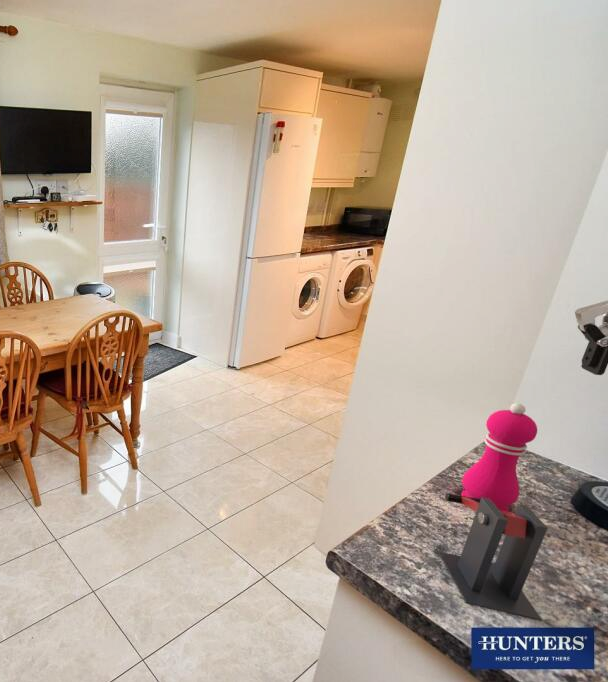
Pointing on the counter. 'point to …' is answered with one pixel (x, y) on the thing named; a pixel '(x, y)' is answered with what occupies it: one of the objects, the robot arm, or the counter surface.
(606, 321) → the robot arm
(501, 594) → the switch bracket
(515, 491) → the pepper mill
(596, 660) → the counter surface
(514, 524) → the switch lever
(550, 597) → the counter surface
